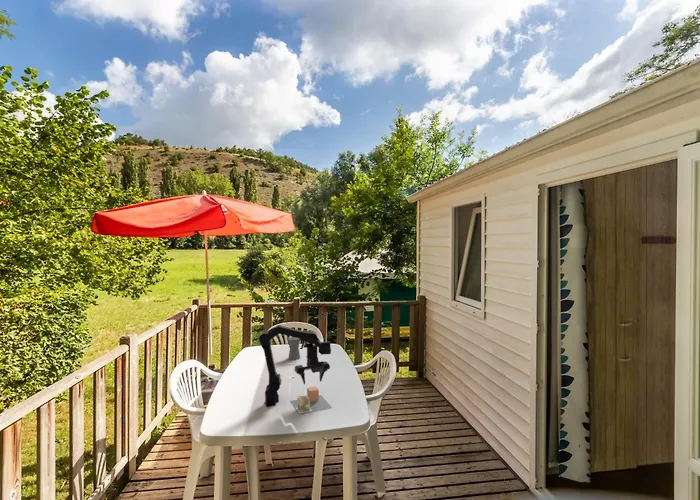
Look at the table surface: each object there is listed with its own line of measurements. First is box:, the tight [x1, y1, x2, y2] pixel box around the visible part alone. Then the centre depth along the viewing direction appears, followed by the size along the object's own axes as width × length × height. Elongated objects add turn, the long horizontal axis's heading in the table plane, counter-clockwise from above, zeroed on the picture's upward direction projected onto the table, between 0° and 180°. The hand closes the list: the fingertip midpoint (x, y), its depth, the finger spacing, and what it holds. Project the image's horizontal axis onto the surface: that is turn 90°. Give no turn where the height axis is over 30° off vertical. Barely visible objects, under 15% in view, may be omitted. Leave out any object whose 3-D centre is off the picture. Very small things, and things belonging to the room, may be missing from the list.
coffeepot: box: [286, 336, 306, 360], centre depth 280 cm, size 15×9×18 cm, turn 70°
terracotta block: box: [306, 385, 320, 402], centre depth 204 cm, size 5×5×6 cm
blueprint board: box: [290, 394, 333, 416], centre depth 198 cm, size 18×18×1 cm
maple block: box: [297, 394, 310, 412], centre depth 192 cm, size 5×5×6 cm
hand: (312, 382), depth 204 cm, fingers open, 9 cm apart
